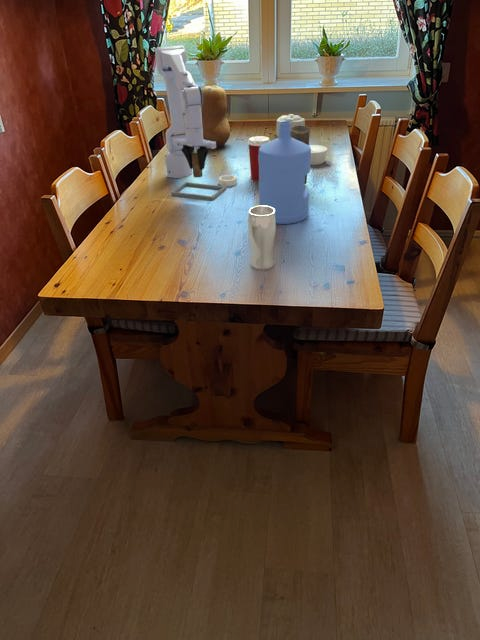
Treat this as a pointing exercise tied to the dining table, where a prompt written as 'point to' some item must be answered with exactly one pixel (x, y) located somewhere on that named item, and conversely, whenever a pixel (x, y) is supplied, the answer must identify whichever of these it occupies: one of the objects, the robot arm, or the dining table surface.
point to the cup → (227, 180)
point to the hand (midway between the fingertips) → (197, 168)
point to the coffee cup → (255, 154)
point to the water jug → (284, 176)
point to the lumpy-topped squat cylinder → (291, 118)
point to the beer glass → (262, 236)
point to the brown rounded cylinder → (301, 136)
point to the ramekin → (318, 154)
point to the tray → (177, 193)
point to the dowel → (196, 165)
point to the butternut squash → (215, 115)
